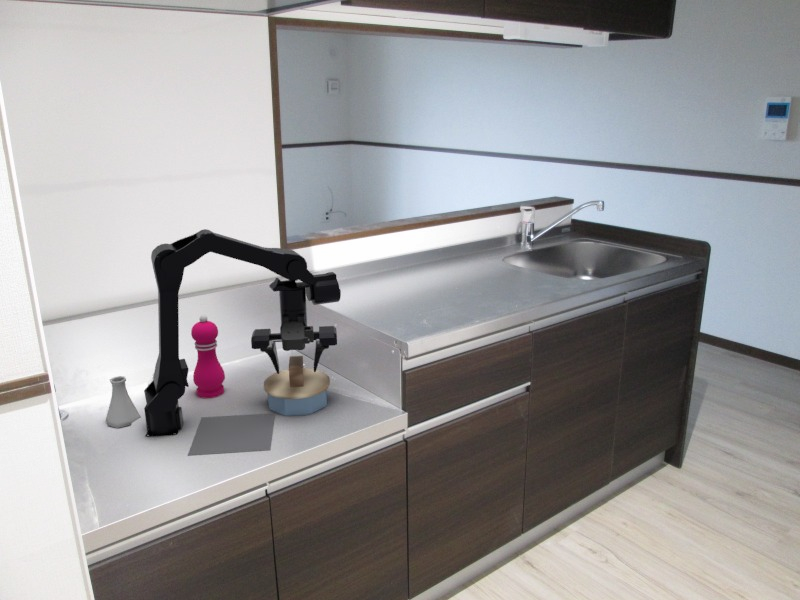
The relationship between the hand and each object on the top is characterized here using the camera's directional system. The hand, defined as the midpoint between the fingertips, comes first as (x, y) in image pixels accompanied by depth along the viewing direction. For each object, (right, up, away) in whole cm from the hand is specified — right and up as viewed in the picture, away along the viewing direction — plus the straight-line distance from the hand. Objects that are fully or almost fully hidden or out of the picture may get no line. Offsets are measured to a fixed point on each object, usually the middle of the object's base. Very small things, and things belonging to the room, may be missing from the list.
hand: (296, 372), depth 145 cm
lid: (0, -3, +1) cm, 3 cm away
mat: (-11, -12, -11) cm, 20 cm away
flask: (-37, -10, -5) cm, 39 cm away
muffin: (-33, -7, +6) cm, 34 cm away
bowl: (0, -8, +2) cm, 8 cm away
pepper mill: (-22, -6, +8) cm, 24 cm away
